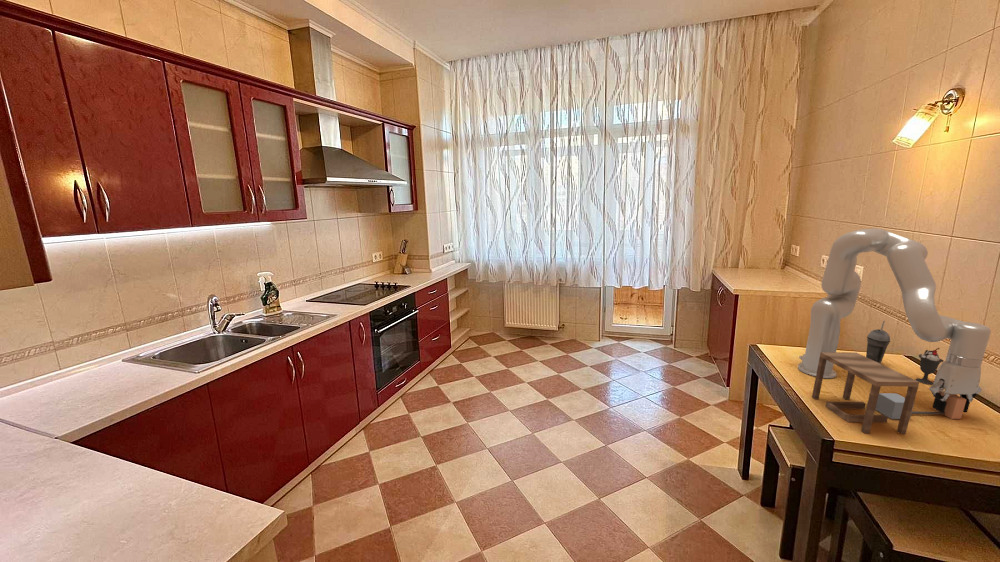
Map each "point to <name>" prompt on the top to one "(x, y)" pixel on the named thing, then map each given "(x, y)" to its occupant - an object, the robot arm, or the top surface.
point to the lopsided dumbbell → (894, 404)
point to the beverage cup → (877, 344)
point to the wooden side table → (878, 378)
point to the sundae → (928, 365)
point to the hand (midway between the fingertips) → (949, 409)
